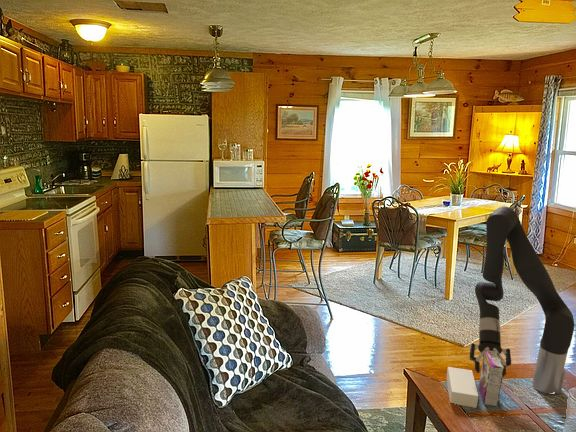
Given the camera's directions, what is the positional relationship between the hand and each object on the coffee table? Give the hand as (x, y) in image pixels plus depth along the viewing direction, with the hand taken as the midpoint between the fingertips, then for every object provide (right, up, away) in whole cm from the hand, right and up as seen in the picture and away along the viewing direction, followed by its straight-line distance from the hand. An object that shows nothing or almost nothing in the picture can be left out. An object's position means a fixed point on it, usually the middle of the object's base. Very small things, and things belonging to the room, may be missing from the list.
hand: (490, 374), depth 174 cm
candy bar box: (0, -9, +2) cm, 9 cm away
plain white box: (-10, -8, +4) cm, 13 cm away
